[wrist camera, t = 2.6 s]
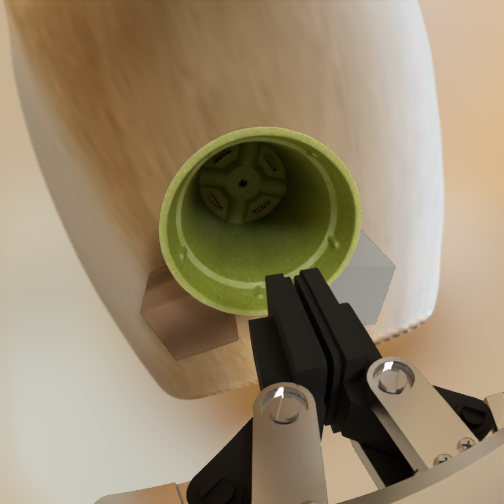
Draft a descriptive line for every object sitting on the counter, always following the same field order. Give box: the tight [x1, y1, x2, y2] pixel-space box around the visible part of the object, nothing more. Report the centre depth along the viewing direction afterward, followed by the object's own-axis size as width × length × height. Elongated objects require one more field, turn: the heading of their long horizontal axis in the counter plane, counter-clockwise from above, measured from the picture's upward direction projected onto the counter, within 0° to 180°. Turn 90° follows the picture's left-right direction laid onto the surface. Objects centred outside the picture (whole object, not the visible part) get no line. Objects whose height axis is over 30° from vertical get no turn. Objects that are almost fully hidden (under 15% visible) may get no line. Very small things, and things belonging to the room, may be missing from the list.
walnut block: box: [141, 266, 239, 361], centre depth 23 cm, size 5×5×5 cm
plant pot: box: [159, 126, 362, 316], centre depth 18 cm, size 9×9×9 cm
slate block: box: [329, 230, 396, 326], centre depth 23 cm, size 5×5×6 cm
